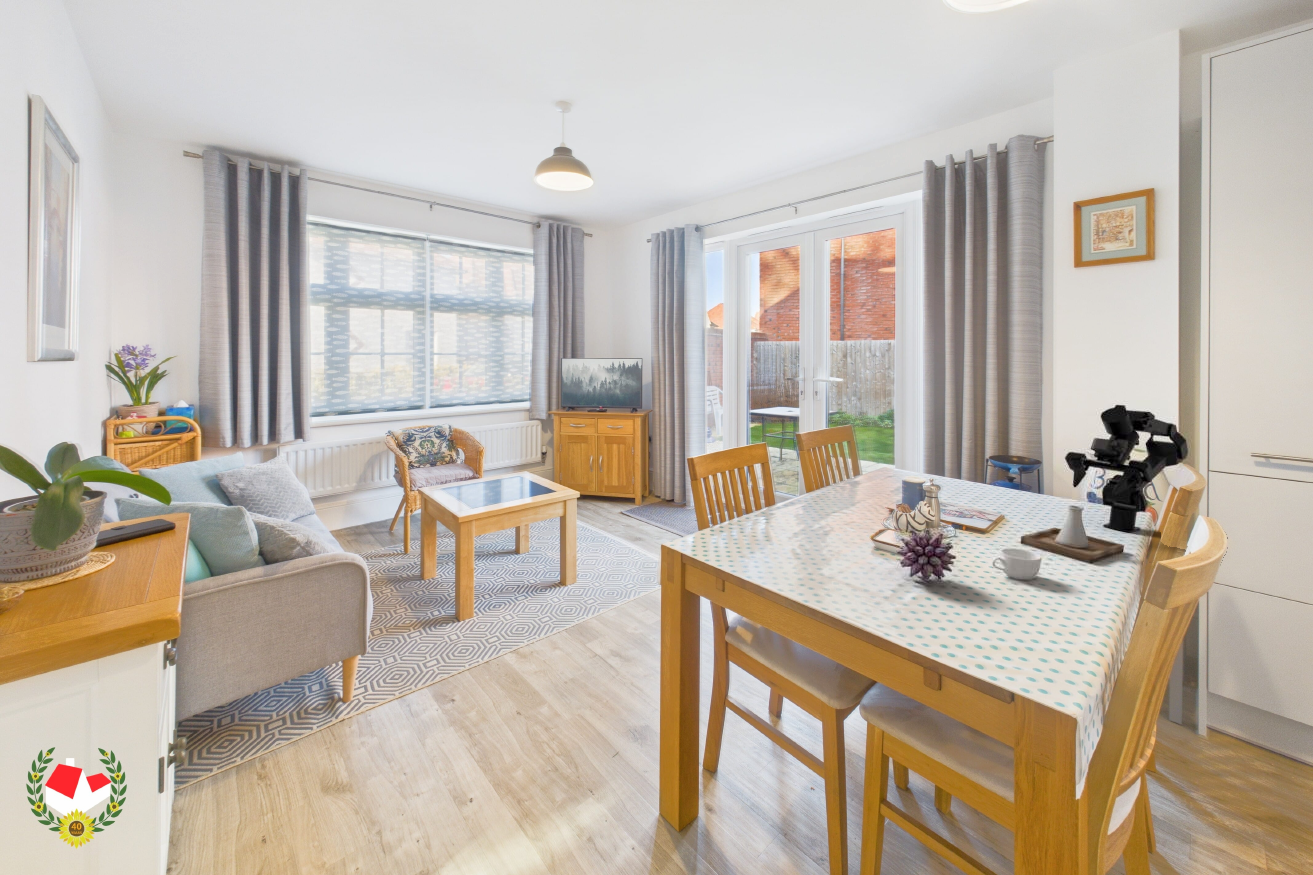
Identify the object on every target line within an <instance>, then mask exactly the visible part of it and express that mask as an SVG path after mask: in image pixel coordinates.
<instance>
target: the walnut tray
mask: <svg viewBox="0 0 1313 875" xmlns="http://www.w3.org/2000/svg"><path fill="white" fill-rule="evenodd" d="M1061 529H1062V528H1058V527H1052V528H1048V529H1044V530H1041V531H1036V532H1033V533H1032V532H1031V533H1029V534H1025V535H1021V536H1020V544H1021V545H1025V546H1029V547H1032V548H1035V549H1038V550H1042V551H1045V552H1049V553H1052V554H1055V555H1059V556H1063V557H1066V558H1069V559H1073V560H1075V561H1076V560H1077V561H1080V562H1083V563H1086V564H1093V563H1096V562H1098V561H1099V562H1100V561H1101V560H1106V559H1108V558H1111V557H1110V556H1112V557H1114V556H1113V555H1115V556H1117V555H1116V554H1118V555H1120V554H1119V553H1121V554H1123V553H1124V550H1125V545H1124V544H1121V543H1117V542H1114V541H1109V540H1105V539H1103V538H1102V539H1101V538H1099V537H1093V536H1089V535H1087V538H1088V541H1089V544H1090V545H1089V546H1088V547H1087V548H1075V547H1070V546H1065V545H1062V544H1059V543H1057V542H1054V541H1055V539H1056V537H1057V536H1058V534H1059V533H1060V531H1061ZM1122 552H1123V553H1122ZM1107 557H1108V558H1107Z"/></svg>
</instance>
